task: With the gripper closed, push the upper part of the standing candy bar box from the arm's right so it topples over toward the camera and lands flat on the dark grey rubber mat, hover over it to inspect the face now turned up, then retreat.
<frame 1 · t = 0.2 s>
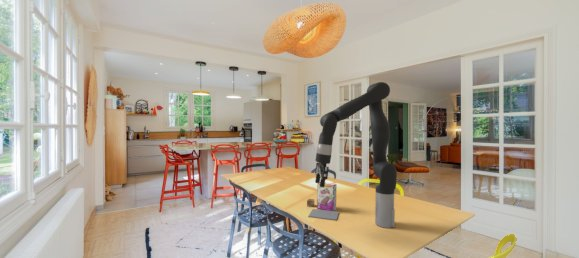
hand: (319, 185, 120), 22 cm above the table, tool pointing down, fingers open, 8 cm apart
candy bar box: (326, 209, 149), on the table
rubber mat: (323, 214, 140), on the table
walnut block: (310, 206, 156), on the table
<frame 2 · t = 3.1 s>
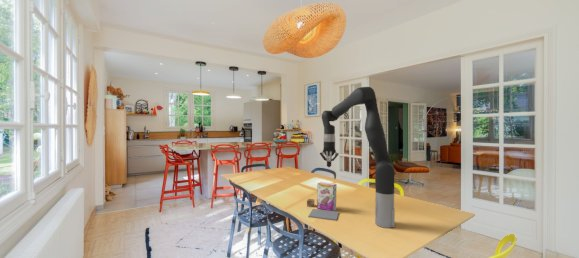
hand: (329, 166, 157), 25 cm above the table, tool pointing down, fingers closed
nothing on the table moved.
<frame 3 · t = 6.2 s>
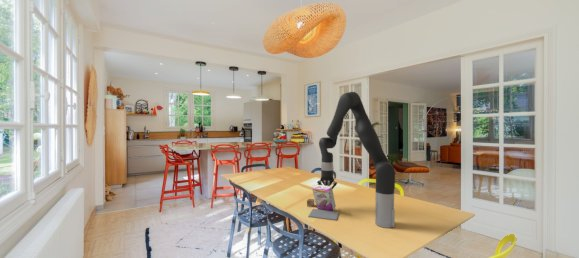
hand: (327, 196, 150), 8 cm above the table, tool pointing down, fingers closed
candy bar box: (326, 208, 149), point 1 cm above the table
everything else where it was.
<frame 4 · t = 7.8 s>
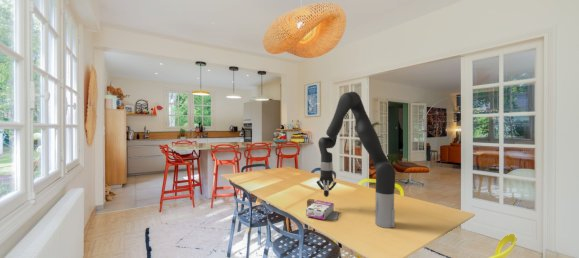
hand: (326, 196, 149), 8 cm above the table, tool pointing down, fingers closed
candy bar box: (325, 205, 148), point 3 cm above the table, touching rubber mat
everything else where it was.
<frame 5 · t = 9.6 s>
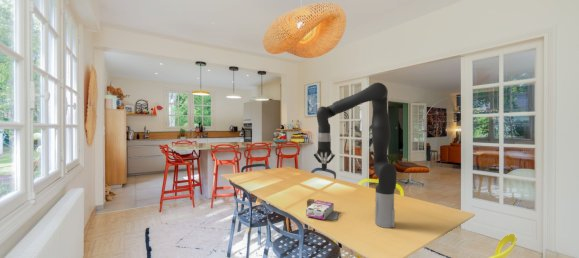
hand: (324, 170, 140), 26 cm above the table, tool pointing down, fingers closed
nothing on the table moved.
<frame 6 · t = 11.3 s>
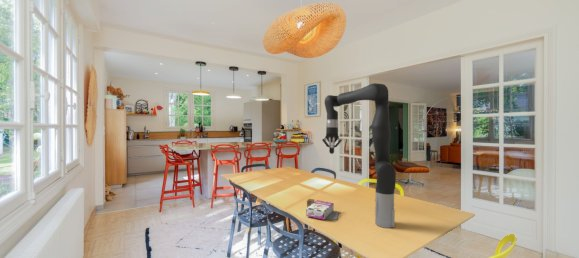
hand: (331, 153, 153), 35 cm above the table, tool pointing down, fingers closed
nothing on the table moved.
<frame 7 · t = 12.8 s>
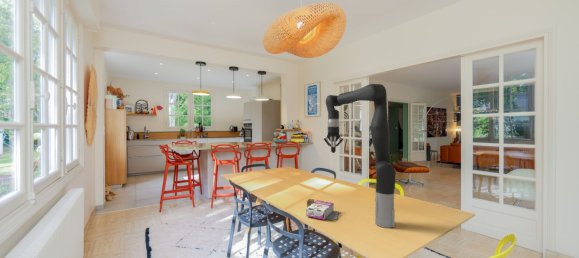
hand: (333, 152, 155), 35 cm above the table, tool pointing down, fingers closed
nothing on the table moved.
at the end: candy bar box tilted 89°; candy bar box inside the target area (9.2 cm from its centre), point 3.0 cm above the table; walnut block moved 0.1 cm from its start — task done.
